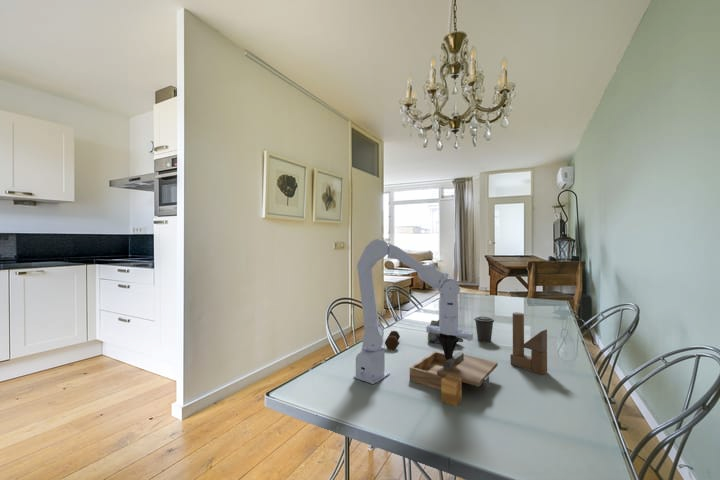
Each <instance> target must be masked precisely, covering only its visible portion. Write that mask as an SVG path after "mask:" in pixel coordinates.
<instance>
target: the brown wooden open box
mask: <svg viewBox="0 0 720 480" xmlns="http://www.w3.org/2000/svg"><path fill="white" fill-rule="evenodd" d="M453 356H454V355H453ZM453 356H452V357H453ZM446 361H447V359H445V354H444V352H440V351H433V352H431V353H430V354H428V355H427V356H426V357H424V358H422V359H421V360H418V361H417V362H416V363H414V364H413V365H411V366H409V381H410V382H412V383H413V382H414V383H416V384H420V385H423V386H426V387H430V388H433V389H435V390H439V391H441V380H442V379H443V378H444V377H443V376H440V375H437V371H438V370H439V369H441V368H442V367H443V366H444V362H446Z"/></svg>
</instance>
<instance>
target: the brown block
mask: <svg viewBox="0 0 720 480" xmlns="http://www.w3.org/2000/svg"><path fill="white" fill-rule="evenodd" d="M462 383H463V382H461V378H457V377H454V376H450V375H447V376H445V377H444V378H443V379H442V380H441V390H440V391H441V395H440V396H441V397H440V398H441V400H440V401H441V403H443V404H446V405H449V406H453V407H458V405H459V404H460V403H461V402H462V401H463V400H462V398H463V397H462V396H463V395H462V393H463V392H462V387H463V386H462Z"/></svg>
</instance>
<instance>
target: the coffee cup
mask: <svg viewBox="0 0 720 480" xmlns="http://www.w3.org/2000/svg"><path fill="white" fill-rule="evenodd" d="M474 321H475V329H476V337H477V341H478V342H480V343H491V342H492V336H493V335H492V334H493V329H494V327H493V325H494V322H495V320H494V319H493V318H491V317H488V316H478V317H475V318H474Z"/></svg>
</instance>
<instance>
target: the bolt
mask: <svg viewBox="0 0 720 480" xmlns="http://www.w3.org/2000/svg"><path fill="white" fill-rule="evenodd" d="M400 337H401V336H400V334H399V332H398V331H397V330H392V331H390V333H389V334H388V336H387V338H386V339H385V341H384V346H385V347H386V348H387V350H391V349H396V350H397V348H398V346H399V345H400V342H399V340H400Z"/></svg>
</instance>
